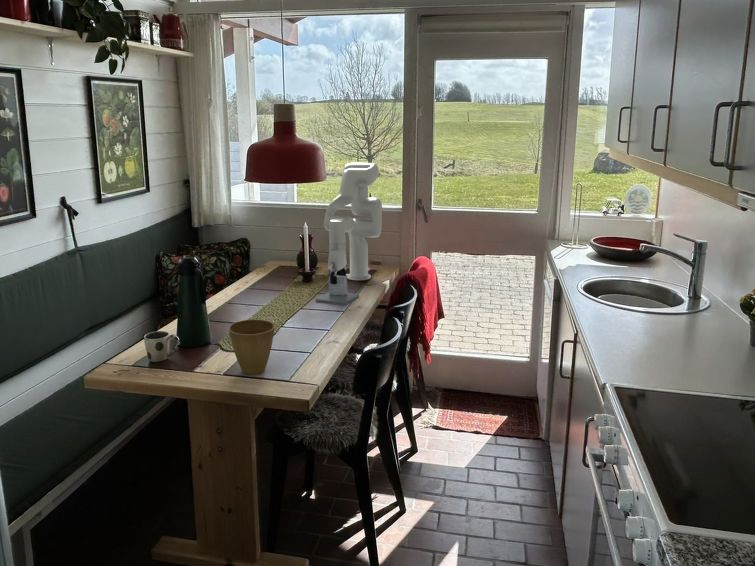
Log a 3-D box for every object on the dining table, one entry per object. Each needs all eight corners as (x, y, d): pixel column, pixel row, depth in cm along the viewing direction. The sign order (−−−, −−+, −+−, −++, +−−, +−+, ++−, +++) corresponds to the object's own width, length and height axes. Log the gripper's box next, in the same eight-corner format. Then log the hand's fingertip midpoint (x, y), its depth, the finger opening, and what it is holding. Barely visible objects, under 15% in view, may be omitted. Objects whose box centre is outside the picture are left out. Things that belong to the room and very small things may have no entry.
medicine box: (347, 293, 298) (347, 275, 295) (345, 296, 293) (344, 278, 291) (331, 292, 299) (331, 275, 297) (328, 295, 295) (328, 277, 293)
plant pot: (224, 378, 206) (221, 332, 201) (241, 361, 220) (238, 318, 215) (268, 381, 203) (265, 335, 199) (281, 363, 217) (280, 320, 213)
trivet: (330, 293, 302) (330, 290, 302) (358, 296, 297) (358, 294, 296) (315, 301, 289) (315, 299, 289) (344, 305, 283) (344, 302, 283)
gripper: (338, 241, 299) (339, 275, 304) (321, 249, 284) (322, 285, 289) (352, 242, 296) (353, 277, 301) (336, 250, 281) (337, 287, 286)
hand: (338, 281), depth 295 cm, fingers open, 9 cm apart
